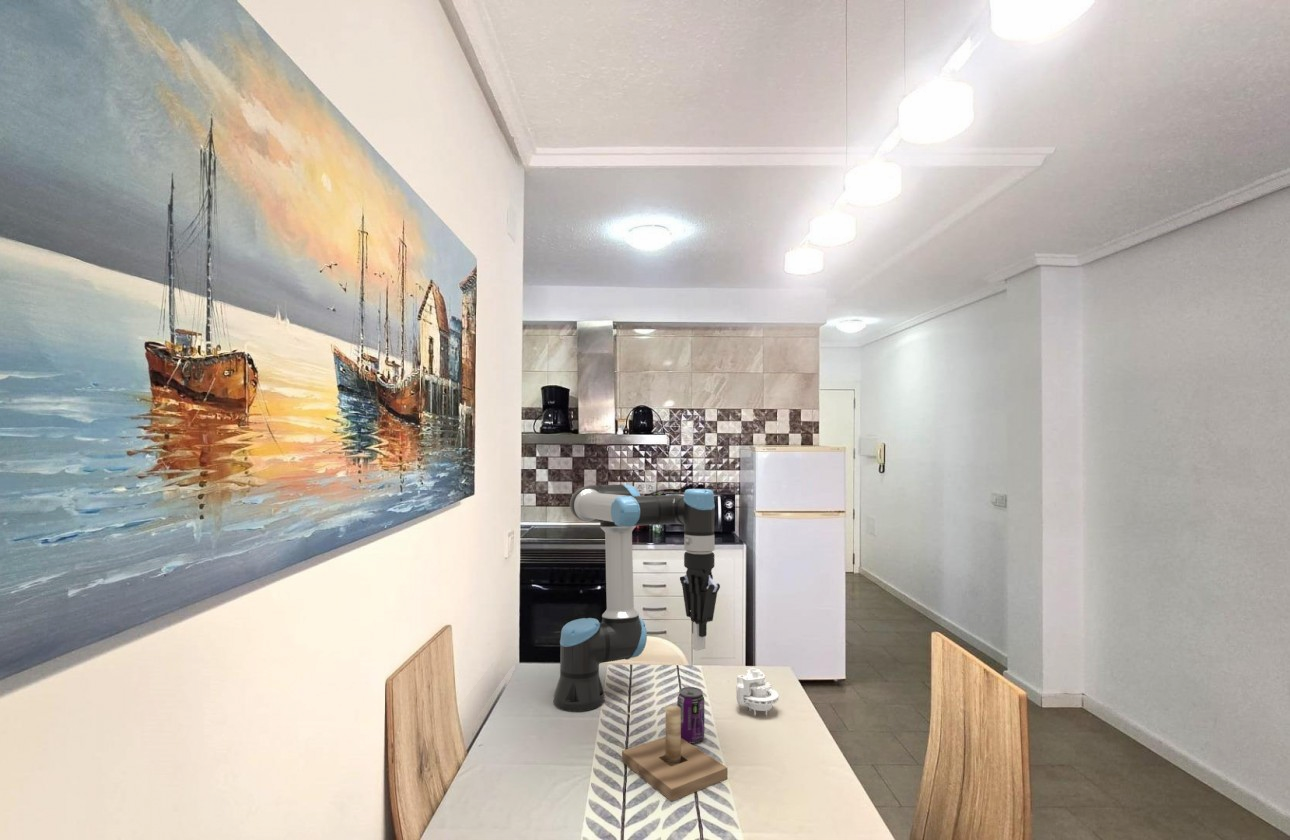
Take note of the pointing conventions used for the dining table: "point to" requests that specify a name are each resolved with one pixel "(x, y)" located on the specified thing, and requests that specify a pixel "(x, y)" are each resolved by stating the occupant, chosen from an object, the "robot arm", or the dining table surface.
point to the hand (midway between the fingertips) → (699, 648)
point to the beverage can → (691, 713)
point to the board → (674, 768)
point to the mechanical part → (755, 691)
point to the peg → (673, 735)
